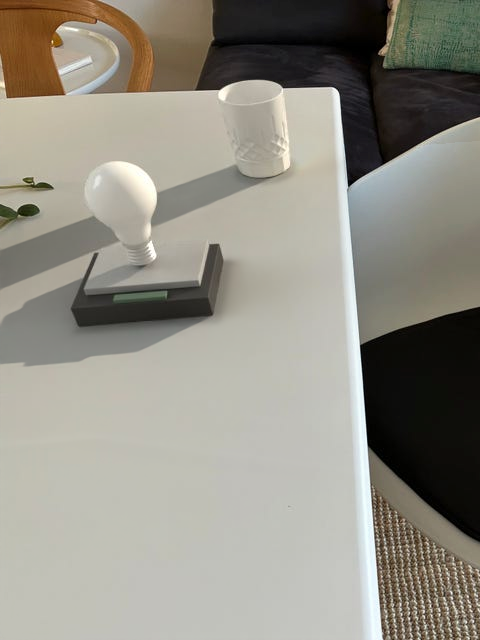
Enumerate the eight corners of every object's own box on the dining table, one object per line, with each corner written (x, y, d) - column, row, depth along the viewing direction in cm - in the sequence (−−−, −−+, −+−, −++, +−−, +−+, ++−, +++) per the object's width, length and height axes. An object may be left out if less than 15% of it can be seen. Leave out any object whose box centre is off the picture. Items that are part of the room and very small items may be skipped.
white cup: (257, 186, 98) (241, 110, 92) (222, 167, 102) (204, 92, 96) (307, 165, 103) (295, 91, 96) (271, 147, 107) (258, 74, 100)
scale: (78, 326, 77) (67, 302, 75) (100, 269, 84) (91, 246, 82) (213, 315, 78) (206, 290, 76) (223, 260, 86) (217, 236, 84)
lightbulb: (186, 248, 82) (158, 151, 75) (160, 283, 77) (126, 183, 70) (129, 244, 82) (96, 147, 75) (99, 278, 78) (60, 178, 71)
